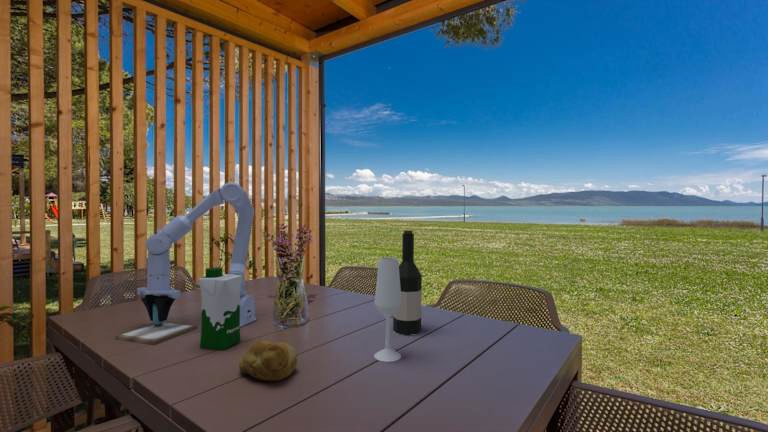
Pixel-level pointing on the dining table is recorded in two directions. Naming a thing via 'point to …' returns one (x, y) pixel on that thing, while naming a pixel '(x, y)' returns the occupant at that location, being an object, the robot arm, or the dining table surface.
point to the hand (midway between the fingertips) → (158, 320)
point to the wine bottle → (409, 290)
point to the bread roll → (268, 361)
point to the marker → (156, 316)
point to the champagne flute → (388, 301)
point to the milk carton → (220, 309)
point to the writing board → (156, 333)
